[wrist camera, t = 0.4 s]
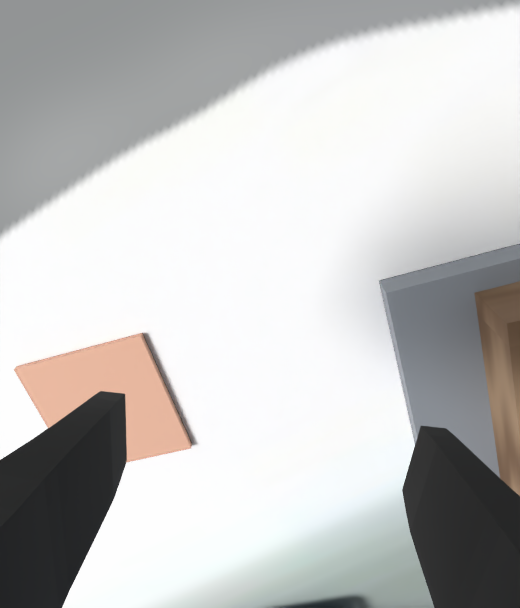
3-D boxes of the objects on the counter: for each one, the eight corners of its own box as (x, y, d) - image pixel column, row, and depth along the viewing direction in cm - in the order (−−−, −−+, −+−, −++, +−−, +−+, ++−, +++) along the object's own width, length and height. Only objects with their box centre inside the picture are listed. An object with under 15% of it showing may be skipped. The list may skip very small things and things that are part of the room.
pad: (192, 444, 25) (190, 448, 24) (77, 469, 26) (74, 473, 25) (142, 333, 22) (140, 335, 22) (17, 366, 23) (13, 369, 23)
